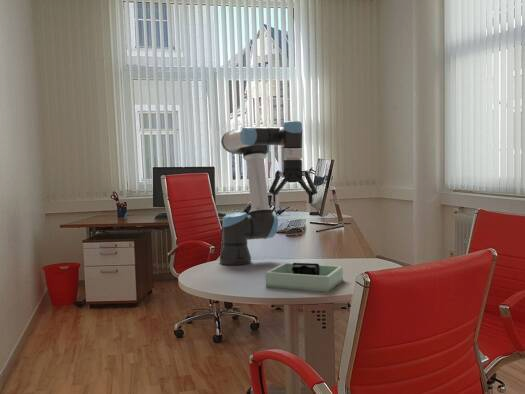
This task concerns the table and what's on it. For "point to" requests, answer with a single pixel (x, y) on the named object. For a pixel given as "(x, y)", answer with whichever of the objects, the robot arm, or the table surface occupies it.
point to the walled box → (304, 278)
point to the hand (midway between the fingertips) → (292, 210)
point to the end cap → (306, 268)
